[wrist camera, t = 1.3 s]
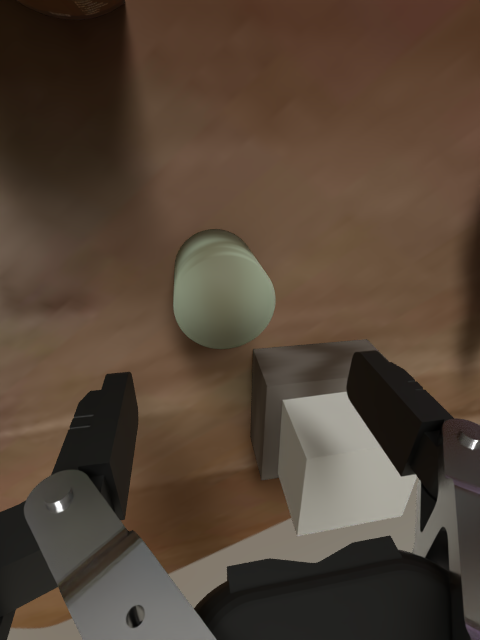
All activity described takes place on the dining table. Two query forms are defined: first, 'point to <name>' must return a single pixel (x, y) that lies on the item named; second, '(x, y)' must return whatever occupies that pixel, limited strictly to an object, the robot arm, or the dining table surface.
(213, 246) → the sage cylinder
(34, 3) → the food container
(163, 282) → the dining table surface
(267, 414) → the base block
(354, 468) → the top block
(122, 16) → the dining table surface
